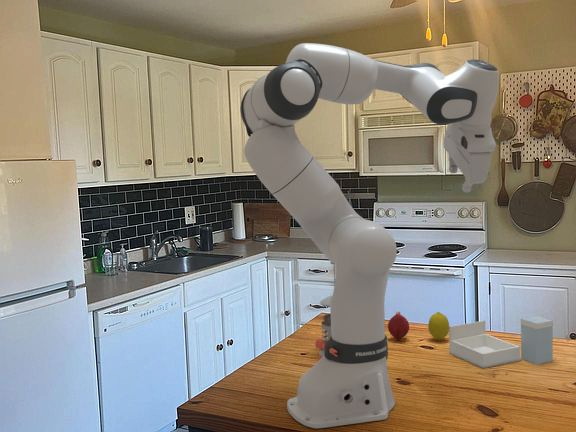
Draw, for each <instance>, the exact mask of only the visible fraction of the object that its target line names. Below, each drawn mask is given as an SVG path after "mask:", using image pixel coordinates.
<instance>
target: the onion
mask: <svg viewBox="0 0 576 432" xmlns="http://www.w3.org/2000/svg"><path fill="white" fill-rule="evenodd" d="M387 331H388V332H389V334H390V335H391V336H392V337H393V338H394V339H396V340H397V341H400V340H402V339H404V337H406V336H407V334H408V332H409V331H410V323H409V321H408V319H407V318H406V317H405V316H404V315H402V314H401V311H399V310H398V311H396V313H395V314H394V315H393V316H392V317H390V319H389V321H388V323H387Z"/></svg>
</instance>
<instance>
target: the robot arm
mask: <svg viewBox="0 0 576 432" xmlns="http://www.w3.org/2000/svg"><path fill="white" fill-rule="evenodd" d="M499 85H500V72H499V69H498V68H497V67H496V66H494V65H492V64H491V63H489V62H486V61H484V60H481V59H475V58H474V59H467V60H466V61H465V62H464V64H463V65H462V66H460V67H459V68H458V69H456V70H455V71H454V72H451V73H450V74H448V75H446V74H445V73H443V71H441V70H440V69H439V68H438V66H436V65H434V64H432V63H429V62H420V63H416V64H410V65H401V64H397V63H392V62H386V61H383V60H377V59H373V58H371V57H369V56H367V55H366V54H363V53H360V52H357V51H355V50H352V49H349V48H345V47H341V46H340V47H339V46H336V45H331V44H325V43H324V44H322V43H309V42H304V43H303V42H302V43H299V44H297V45H295V46H294V47H293V48H292V49H291V51H290V52H289V54H288V55H287V57H286V60H285V63H283V64H280V65H277V66H275V67H274V68H273V69H271V70H270V71H269V72H268V73H266V74H264V75H263V76H261V77H259V78H258V79H257V80H256V81H255V82H254V83H253V84H252V86H250V88H248V89H247V90H246V92H245V93H244V95H243V97H242V99H241V102H240V107H239V108H240V109H239V111H240V116H241V120H242V122H243V124H244V127H245V129H246V133H247V134H246V135H247V136H248V139H247V140H246V143H245V145H244V150H243V153H244V156H245V157H244V158H245V159H246V161H247V163H248V164H249V167H250V168H251V169H252V171H253V172H254V173H255V175H256V176H257V179H259V181H260V182H261V183H262V184H263V186H264V187H265V188H266V189H267V190H268V191H269V192H270V194H271V195H272V196H273V197H274V198H275V200H277V201H278V203H280V204H281V206H282V207H283V208H284V209H285V210H286V211H287V212H288V213H289V215H291V217H292V218H293V219H294V220H295V221H296V222H297V223H298V225H299V226H300V227H301V228H302V229H303V230H304V232H305V233H306V235H307V236H308V237H309V239H310V240H311V241H312V242H313V244H314V245H315V246H316V247H317V248H318V249H319V251H320V252H321V253H322V254H323V255H324V256H325V257H326V258H327V260H329V261H330V262H333V263H334V264H335V283H334V287H333V292H332V295H331V296H332V297H331V300H330V307H329V308H330V314H331V336H330V338H329V340H328V342H325V341H323V340H324V339H323V338H317V339H315V341H314V346H315V348H316V349H318V350H319V351H321V350H324V356H323V357H322V356H321V358H320V359H319V360H318V361H317V362H316V363H314V365H312V366H311V367H310V368H309V369H308V370H307V371H306V372H305V373H304V374H302V375H301V376H300V379H299V382H298V386H297V394H296V396H295V397H291V398H289V399H288V400H287V402H286V409H287V412H288V413H289V415H290V416H291V417H292V418H293V419H295V421H296V422H298V423H300V424H301V425H303V426H305V427H308V428H311V429H324V428H325V429H326V428H333V427H339V426H346V425H354V424H355V425H356V424H363V423H368V422H376V421H383V420H387V419H388V418H389V412H390V411H391V410H392V409H393V408H394V406H395V405H396V400H395V397H394V393H393V390H392V387H391V382H390V377H389V372H388V371H389V370H388V363H387V361H388V356H389V348H388V346H389V344H388V335H386V327H385V325H386V322H385V321H386V320H385V317H386V316H385V315H386V313H385V300H386V299H385V297H386V291H387V285H388V279H389V275H390V274H389V273H390V270H391V268H392V266H394V263H395V261H396V258H397V254H398V253H397V252H398V250H397V249H398V248H397V244H396V240H395V238H394V237H393V235H392V234H391V233H390V232H389V231H388V230H387V229H386V228H385V227H384V226H383V225H382V224H380V223H378V222H376V221H374V220H373V221H372V220H369V219H366V218H363V217H362V216H361V215H360V214H358V213H357V212H356V210H354V208H353V207H352V205H351V204H350V202H349V200H348V199H347V198H346V196H345V195H344V192H343V191H342V190H341V187H340V185H339V184H338V183H337V182H336V180H335V179H334V178H333V177H332V176H331V175H330V173H328V171H327V170H326V168H324V167H323V166H322V165H321V163H320V162H319V161H318V160H317V159H316V158H315V157H314V155H313V154H311V153H310V151H309V150H308V149H307V148H306V147H305V146H304V145H303V143H302V142H301V141H300V139H299V137H298V135H297V133H296V129H295V124H297V123H298V122H299V121H301V120H302V119H304V118H305V117H307V116H308V115H309V114H310V113H311V112H312V111H313V109H314V108H315V107H316V106H317V105H316V104H317V102H318V100H319V99H320V100H322V101H323V100H324V101H328V102H333V103H337V104H341V105H342V104H343V105H360V104H362V103H364V102H365V101H366V100H368V99H369V97H370V96H371V95H372V94H373V92H374V90H377V91H383V92H389V93H393V94H398V95H400V96H402V97H403V98H404V99H405V100H406V101H407V102H408V103H409V104H411V105H412V106H414V108H416V109H417V110H418V111H419V112H420V113H421V114H422V115H423V116H425V118H426V119H428V120H429V121H431V122H432V123H434V124H436V125H441V126H444V125H447V126H446V130H445V134H444V137H443V142H442V143H443V148H444V149H445V152H447V154H448V164H449V166H448V172H450V174H456V173H457V174H458V170H459V171H460V172H461V174H462V175H463V176H464V180H465V181H464V182H463V183H462V184H461V190H462V191H463V193H470V192H471V190H472V186H473V185H474V184H475V185H476V184H484V183H485V182H486V180H487V179H488V175H489V171H490V168H491V164H492V152H493V153H494V152H495V150H496V148H497V143H496V141H495V138H494V135H493V132H492V127H491V126H492V120H493V117H492V111H493V109H494V107H495V106H496V103H497V102H496V101H497V98H498V92H499ZM334 264H333V265H334Z"/></svg>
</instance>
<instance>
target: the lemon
mask: <svg viewBox="0 0 576 432" xmlns="http://www.w3.org/2000/svg"><path fill="white" fill-rule="evenodd" d="M427 324H428V325H427V327H428V331H429V334H430V336H432V337H433V338H435V339H436V340H437V341H441V340H442V339H444V338H446V337H447V336H448V335H449V327H450V323H449V319H448V317H447V316H446V315H445V314H443V313H441V312H440V311H437V312H436V313H434V314H432V315H431V316H430V318H429V320H428V323H427Z"/></svg>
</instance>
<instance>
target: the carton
mask: <svg viewBox="0 0 576 432" xmlns="http://www.w3.org/2000/svg"><path fill="white" fill-rule="evenodd" d="M553 326H554V321H553V320H551V319H548V318H545V317H541V316H539V315H535V316H529V317H528V316H527V317H524V318H520V360H524V361H526V362H528V363H531V364H534V365H536V366H537V365H541V364H545V363H546V362H547V363H551V362H553V359H554V357H553V356H554V354H553V352H554V349H553V347H554V345H553V343H554V341H553V339H554V338H553V335H554V333H553ZM550 361H551V362H550Z"/></svg>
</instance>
